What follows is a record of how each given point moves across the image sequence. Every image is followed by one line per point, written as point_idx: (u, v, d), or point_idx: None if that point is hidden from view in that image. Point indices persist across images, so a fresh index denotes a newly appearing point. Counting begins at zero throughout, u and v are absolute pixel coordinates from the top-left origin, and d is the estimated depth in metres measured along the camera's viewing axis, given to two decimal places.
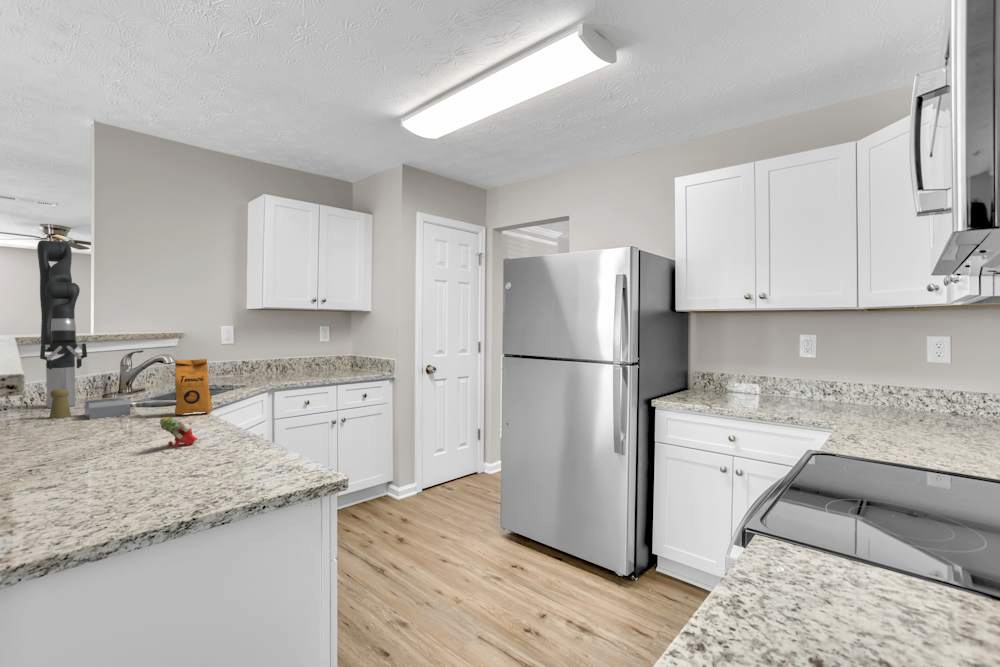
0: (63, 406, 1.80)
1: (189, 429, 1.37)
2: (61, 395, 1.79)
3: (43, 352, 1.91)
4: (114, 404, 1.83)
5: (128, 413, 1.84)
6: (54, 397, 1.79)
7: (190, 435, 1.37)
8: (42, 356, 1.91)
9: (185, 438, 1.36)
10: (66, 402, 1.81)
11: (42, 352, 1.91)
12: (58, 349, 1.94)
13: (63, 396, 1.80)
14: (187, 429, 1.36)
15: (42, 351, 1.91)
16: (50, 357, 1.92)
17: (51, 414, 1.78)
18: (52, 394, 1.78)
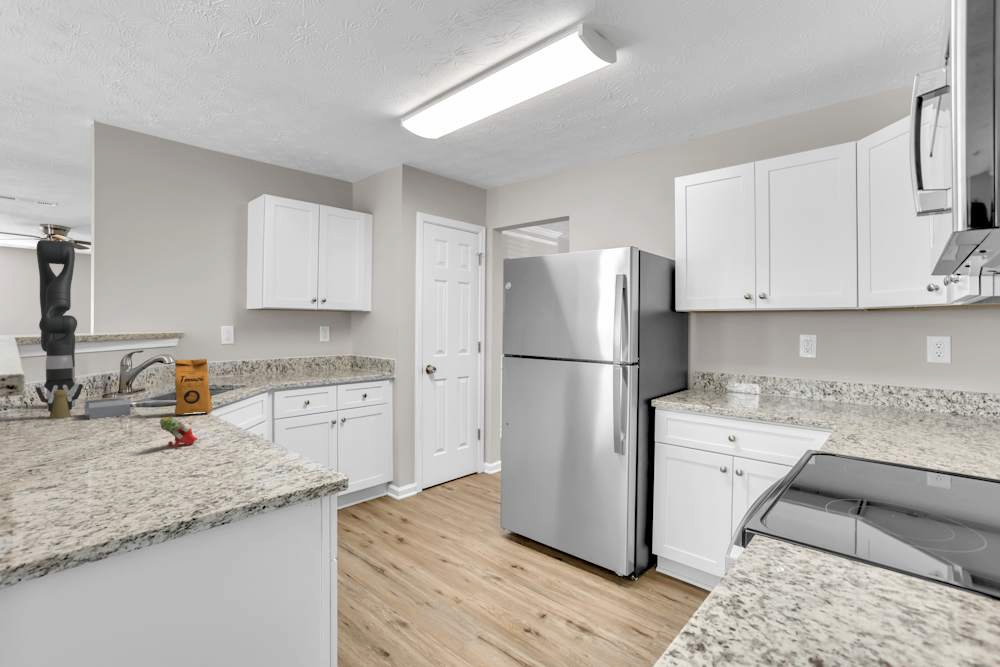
0: (63, 406, 1.80)
1: (189, 429, 1.37)
2: (61, 395, 1.79)
3: (41, 395, 1.76)
4: (114, 404, 1.83)
5: (128, 413, 1.84)
6: (54, 397, 1.79)
7: (190, 435, 1.37)
8: (43, 399, 1.77)
9: (185, 438, 1.36)
10: (66, 402, 1.81)
11: (40, 395, 1.76)
12: (54, 389, 1.78)
13: (63, 395, 1.80)
14: (187, 429, 1.36)
15: (40, 394, 1.76)
16: (51, 399, 1.78)
17: (51, 414, 1.78)
18: None
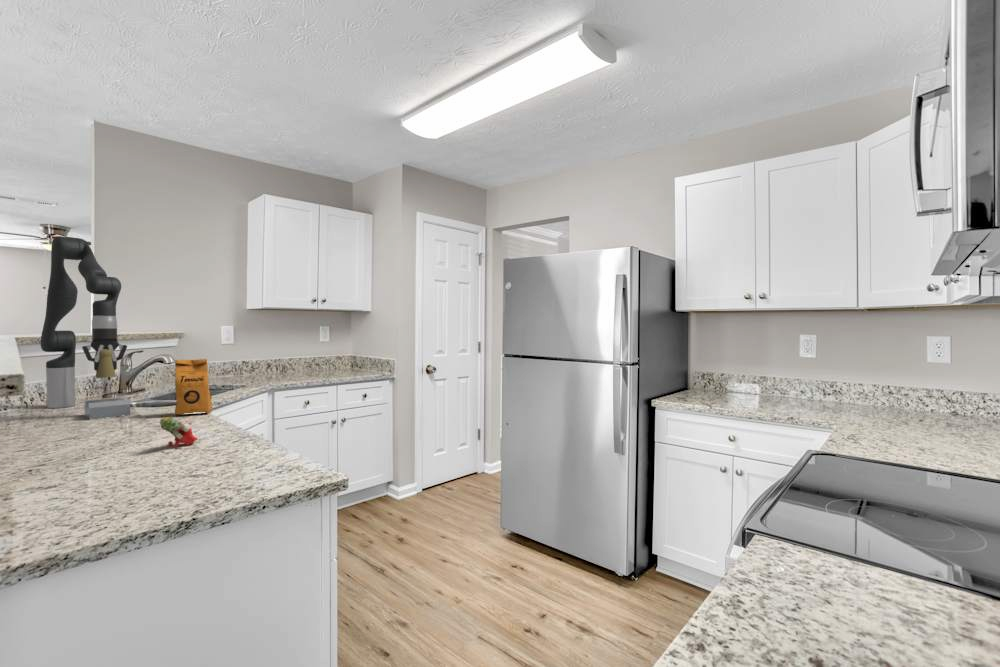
0: (108, 366, 1.83)
1: (189, 429, 1.37)
2: (107, 355, 1.83)
3: (88, 354, 1.80)
4: (114, 404, 1.83)
5: (128, 413, 1.84)
6: (100, 356, 1.82)
7: (190, 435, 1.37)
8: (90, 358, 1.80)
9: (185, 438, 1.36)
10: (111, 362, 1.85)
11: (87, 354, 1.80)
12: (100, 348, 1.82)
13: (108, 355, 1.83)
14: (187, 429, 1.36)
15: (87, 353, 1.80)
16: (97, 358, 1.82)
17: (97, 373, 1.82)
18: None
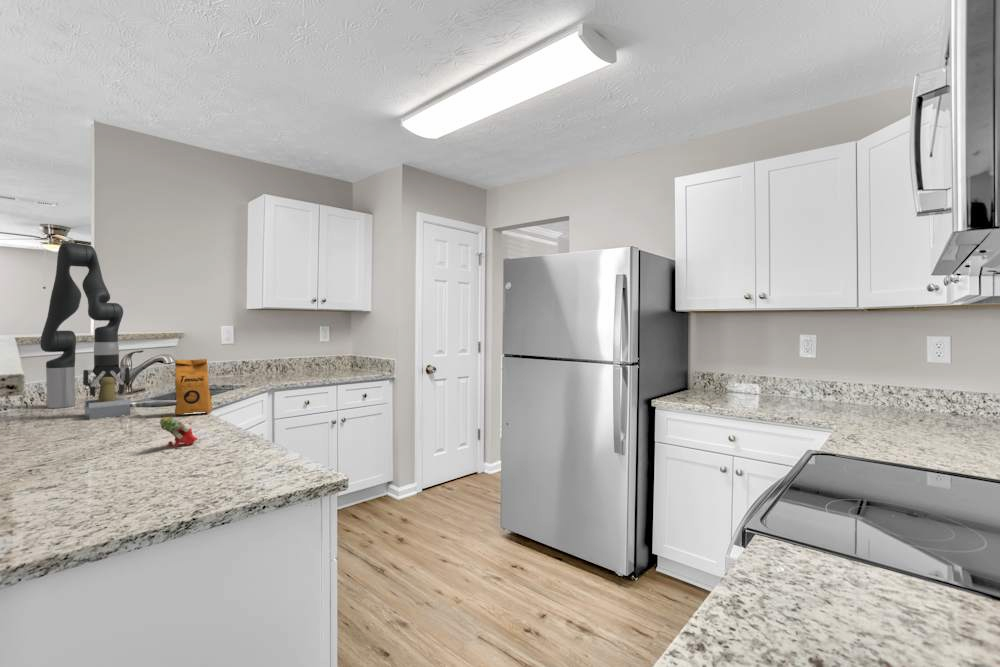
0: (110, 393, 1.84)
1: (189, 429, 1.37)
2: (109, 382, 1.84)
3: (86, 378, 1.80)
4: (114, 404, 1.83)
5: (128, 413, 1.84)
6: (102, 384, 1.83)
7: (190, 435, 1.37)
8: (86, 383, 1.80)
9: (185, 438, 1.36)
10: (113, 389, 1.85)
11: (85, 378, 1.79)
12: (101, 374, 1.82)
13: (110, 383, 1.84)
14: (187, 429, 1.36)
15: (85, 377, 1.79)
16: (94, 383, 1.81)
17: (99, 401, 1.83)
18: (100, 381, 1.83)
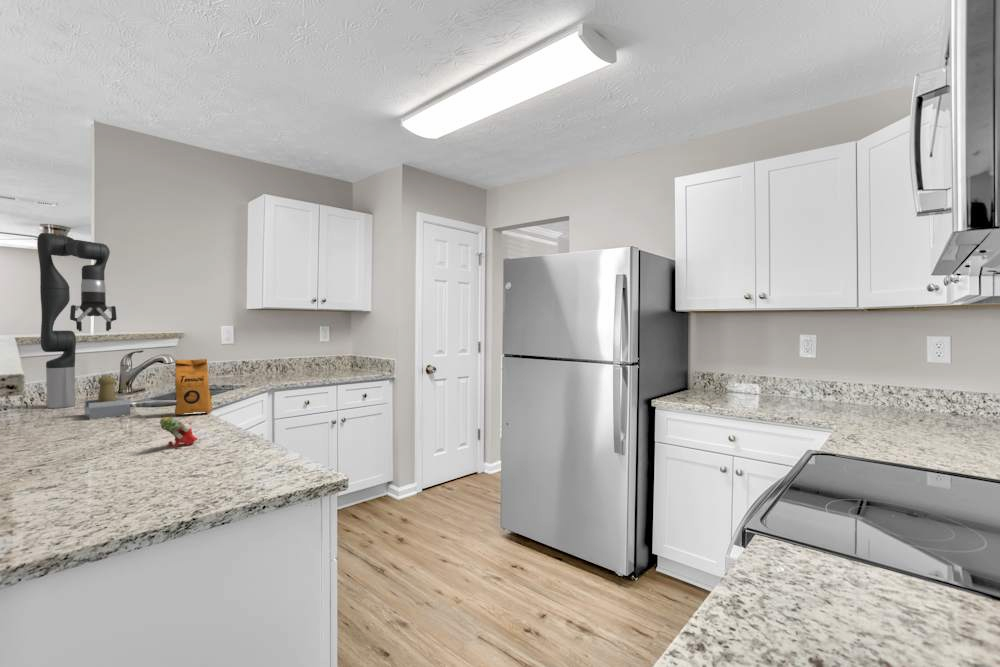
0: (110, 393, 1.84)
1: (189, 429, 1.37)
2: (109, 382, 1.84)
3: (73, 313, 1.87)
4: (114, 404, 1.83)
5: (128, 413, 1.84)
6: (102, 384, 1.83)
7: (190, 435, 1.37)
8: (72, 317, 1.87)
9: (185, 438, 1.36)
10: (113, 389, 1.85)
11: (72, 313, 1.87)
12: (88, 310, 1.90)
13: (110, 383, 1.84)
14: (187, 429, 1.36)
15: (72, 312, 1.87)
16: (80, 318, 1.89)
17: (99, 401, 1.82)
18: (100, 381, 1.82)
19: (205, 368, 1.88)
